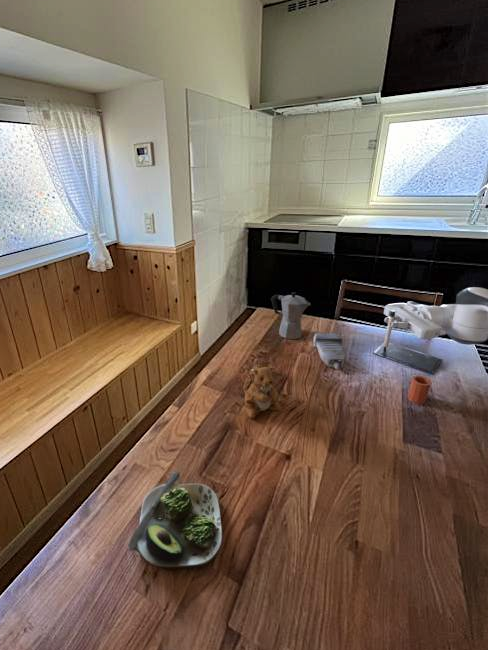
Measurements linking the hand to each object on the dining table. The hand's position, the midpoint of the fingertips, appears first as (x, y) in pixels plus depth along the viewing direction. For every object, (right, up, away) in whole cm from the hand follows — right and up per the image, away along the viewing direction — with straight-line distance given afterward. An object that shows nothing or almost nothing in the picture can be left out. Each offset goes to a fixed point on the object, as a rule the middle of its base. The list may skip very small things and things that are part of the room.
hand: (388, 322), depth 116 cm
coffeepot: (-29, -6, +20) cm, 35 cm away
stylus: (+1, -10, +4) cm, 11 cm away
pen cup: (-3, -21, -19) cm, 29 cm away
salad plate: (-71, -39, -48) cm, 94 cm away
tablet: (+6, -12, 0) cm, 14 cm away
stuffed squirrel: (-48, -23, -16) cm, 56 cm away
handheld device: (-18, -12, +4) cm, 22 cm away
